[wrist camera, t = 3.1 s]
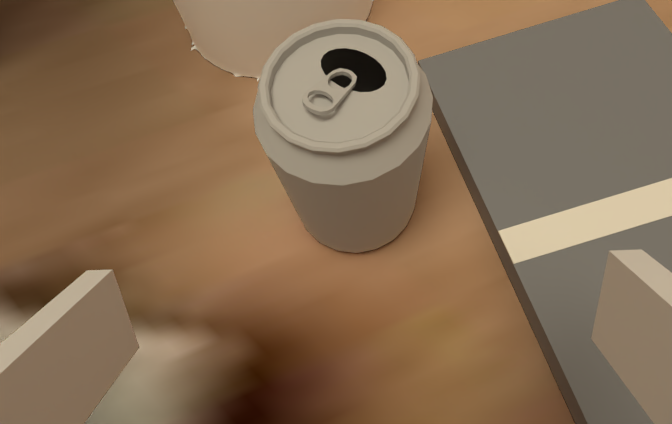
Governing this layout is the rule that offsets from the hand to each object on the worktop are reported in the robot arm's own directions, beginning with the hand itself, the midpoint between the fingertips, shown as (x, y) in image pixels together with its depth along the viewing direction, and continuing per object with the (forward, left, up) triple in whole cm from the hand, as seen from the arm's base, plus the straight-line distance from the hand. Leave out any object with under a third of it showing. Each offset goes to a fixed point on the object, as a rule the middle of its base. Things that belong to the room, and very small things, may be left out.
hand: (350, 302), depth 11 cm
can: (-8, +2, -13) cm, 16 cm away
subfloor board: (-4, +17, -13) cm, 22 cm away
